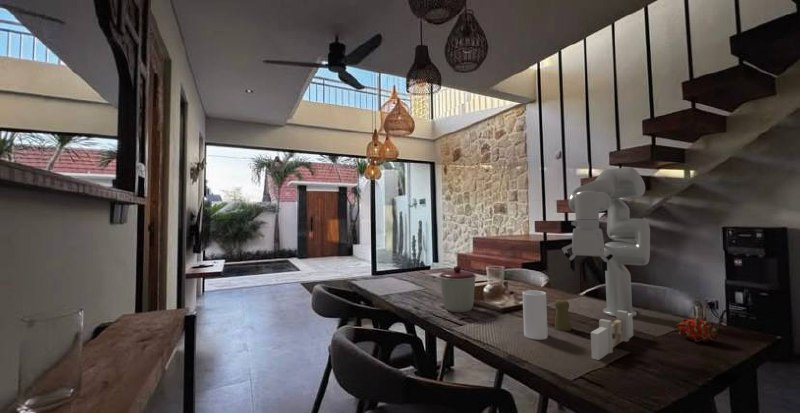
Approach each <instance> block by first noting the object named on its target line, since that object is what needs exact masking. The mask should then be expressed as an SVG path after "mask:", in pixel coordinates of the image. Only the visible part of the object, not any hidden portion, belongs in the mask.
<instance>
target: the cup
mask: <svg viewBox="0 0 800 413" xmlns="http://www.w3.org/2000/svg"><path fill="white" fill-rule="evenodd" d="M547 307H548V306H547V293H546V292H545V291H541V290H533V289H532V290H531V289H528V290H523V291H522V311H523V312H522V313H523V314H522V315H523V316H522V317H523V336H524V337H526V338H528V339H530V340H531V339H532V340H537V341H538V340H546V339H547V338H548V337H549V334H548V333H549V332H548V312H547V311H548V310H547V309H548V308H547Z"/></svg>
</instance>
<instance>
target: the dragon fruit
mask: <svg viewBox="0 0 800 413" xmlns="http://www.w3.org/2000/svg"><path fill="white" fill-rule="evenodd" d="M673 329H674V330H676V329H677V330H678V331H679V332H678V334H679V335H680V336H682V337H683V338H687V339H689V340H694V342H696V343H699V342H702V343H709V340H712V341H713V340H717V339H718V335H719V333H720V331H719V329H718V327H717V326H716V325H715V324H714V323H713V322H711V321H710V322H709V321H707V320H706V319H704V318H703V317H700V318H696V317H692V316H690V317H689V318H684V319H683V321H681V322H679V323H677V324H675V325H674V327H673Z"/></svg>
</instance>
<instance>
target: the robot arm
mask: <svg viewBox="0 0 800 413" xmlns="http://www.w3.org/2000/svg"><path fill="white" fill-rule="evenodd" d="M645 192H646V184H645V181H644V180H643V178H642V176H641V174H640V173H639V171H638V170H636V169H635V168H633V167H629V166H626V167H618V168H609V169H606V170H603V171H602V172H601V173H599V175H598V176H597V177H596V178H595V180H593V181H590V182H587V183H585V184H582V185H580V186H578V187H576V188H575V189H574V190H573V191H572V192H571V193H570V196H569V198H568V207H569V209H570V210H571V211H572V212H575V220H574V221H571V222H570V223H571V226H573V227H574V226H575V228H573V229H572V236H571V237H572V238H571V241H572V242H571V243H570V244H568V245H566V246H563V247H562V248H561V250H562V252H563V254H564V256H566V258H568V260H569V262H570V263H569V266H570V269H572V270H571V272H575V271H576V259H575V258H576V256H578V257H600V258H601V260H602V265H601V266H602V273H603V274H605V293H606V294H605V297H606V307H604V308H603V309H602V313H604V315H608V316H611V317H616V311H617V310H621V311H627V312H628V313H632V317H633V318H635V317H637V316H638V314H637V312H636V311H635V310H633V301H632V300H633V299H632V298H633V297H632V277H631V276H632V275H631V273H630V271H629V269H628V268H627V267H626V265H628V266H629V265H631V266H646V265H648V264H649V262H650V257H651V228H650V224H649V222H648V221H647V220H645V219H643V218H631V217H630V215H631V214H630V212H631V210H630V208H629V206H628V204H626V203H625V201H624V200H622V199H624V198H625V199H626V198H628V199H629V198H639V197H642V196H644V194H645ZM605 211H606V212H607V222H606V234H607V236H608V238H609V239H611V240H615V241H609V242H606V243H605V240H604V233H603V229H602V228H600V213H601V212H605ZM616 240H619V241H616ZM623 241H636V242H623ZM568 249H569V250H570V249H571V252H572V254H570V253H569V252H568Z"/></svg>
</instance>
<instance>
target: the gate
mask: <svg viewBox="0 0 800 413" xmlns="http://www.w3.org/2000/svg"><path fill="white" fill-rule="evenodd" d="M622 342H624V341H623V330H622V320H621V319H618V320H617V319H615V320H614V321H612V343H613V348H615V347H616V346H618V345H619V344H620V343H622Z"/></svg>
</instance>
